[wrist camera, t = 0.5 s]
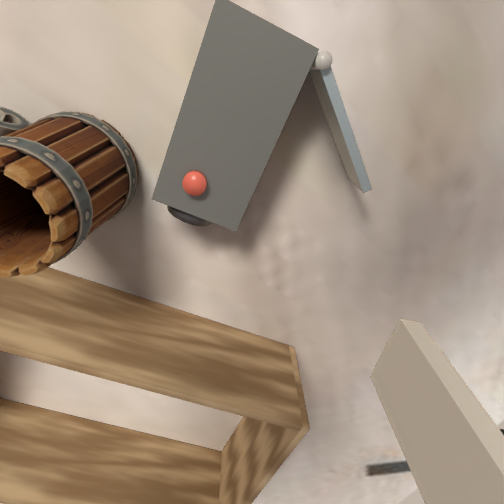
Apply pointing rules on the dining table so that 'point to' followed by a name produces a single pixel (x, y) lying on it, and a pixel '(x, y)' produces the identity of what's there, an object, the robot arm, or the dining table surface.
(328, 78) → the side door
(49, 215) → the mug
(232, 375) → the box
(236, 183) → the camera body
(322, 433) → the dining table surface
